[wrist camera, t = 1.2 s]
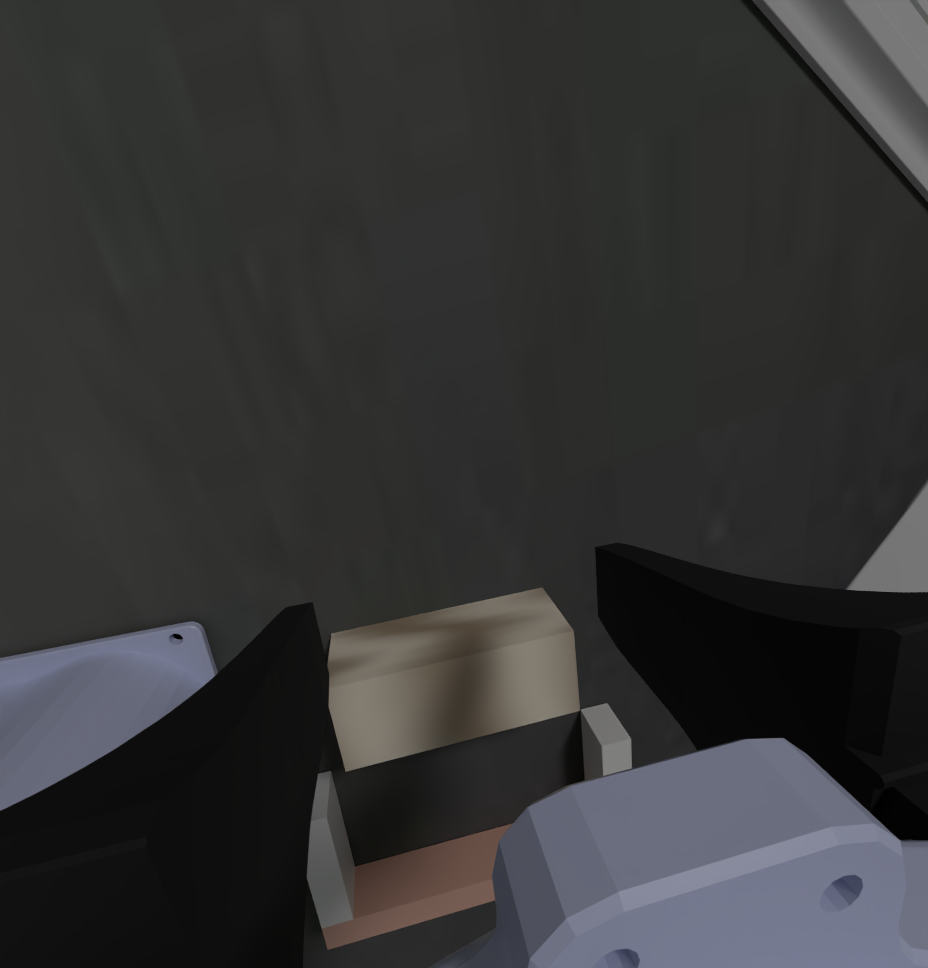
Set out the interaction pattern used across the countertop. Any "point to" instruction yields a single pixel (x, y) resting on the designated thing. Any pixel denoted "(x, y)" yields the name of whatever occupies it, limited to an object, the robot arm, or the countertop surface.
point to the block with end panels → (423, 856)
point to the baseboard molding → (869, 67)
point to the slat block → (450, 676)
